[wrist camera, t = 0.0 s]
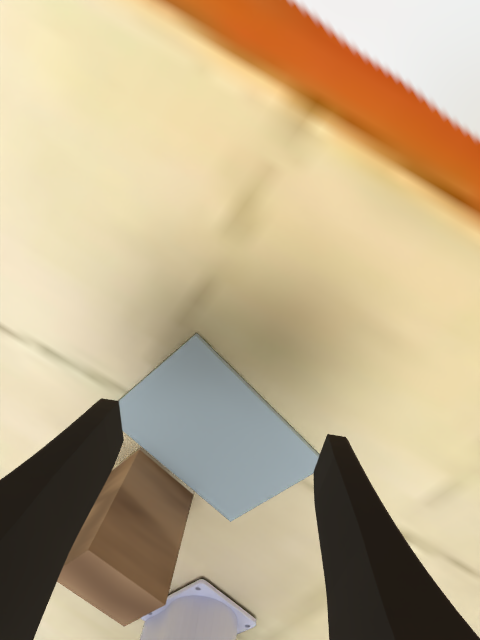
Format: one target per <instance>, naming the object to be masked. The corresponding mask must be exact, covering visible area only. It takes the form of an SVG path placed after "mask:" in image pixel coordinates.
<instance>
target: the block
mask: <svg viewBox="0 0 480 640" xmlns="http://www.w3.org/2000/svg"><path fill="white" fill-rule="evenodd" d="M193 494H194V491H193V490H192V489H191V488H189V487H188V486H187V485H186V484H185V483H183V482H182V481H181V480H180V479H179V478H177V477H176V476H175V475H174V474H173V473H171V472H170V471H169V470H168V469H167V468H166V467H164V466H163V465H162V464H161V463H160V462H158V461H157V460H156V459H155V458H154V457H152V456H151V455H150V454H149V453H148V452H147V451H145V450H144V449H143V448H142V447H140V448H139V449H137V450H136V451H135V452H134V453H132V454H131V455H130V456H128V457H127V458H126V459H124V460H123V461H122V462H121V463H119V464H118V465H117V466H115V467H114V468H113V469H112V471H111V473H110V475H109V477H108V479H107V481H106V483H105V485H104V486H103V488H102V490H101V492H100V494H99V496H98V498H97V500H96V502H95V504H94V505H93V507H92V509H91V511H90V513H89V515H88V517H87V519H86V521H85V522H84V524H83V526H82V528H81V530H80V532H79V534H78V536H77V538H76V540H75V542H74V544H73V546H72V548H71V550H70V552H69V554H68V556H67V559H66V561H65V564H64V566H63V568H62V571H61V573H60V575H59V578H58V580H57V582H59V583H60V584H62V585H63V586H65V587H66V588H68V589H69V590H71V591H72V592H73V593H75V594H76V595H78V596H79V597H81V598H82V599H84V600H85V601H87V602H88V603H90V604H91V605H93V606H94V607H96V608H97V609H99V610H100V611H102V612H103V613H105V614H106V615H108V616H109V617H111V618H112V619H114V620H115V621H117V622H118V623H120V624H121V625H123V626H126V625H128V624H130V623H132V622H134V621H136V620H137V619H139V618H141V617H143V616H145V615H147V614H149V613H151V612H153V611H155V610H157V609H159V608H161V607H163V606H164V605H166V601H167V597H168V593H169V589H170V585H171V581H172V577H173V573H174V569H175V565H176V561H177V557H178V553H179V549H180V545H181V541H182V538H183V534H184V530H185V526H186V522H187V518H188V514H189V510H190V506H191V502H192V498H193Z"/></svg>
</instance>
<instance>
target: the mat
mask: <svg viewBox="0 0 480 640" xmlns="http://www.w3.org/2000/svg"><path fill="white" fill-rule="evenodd" d="M119 406H120V415H121V423H122V431H124V432H125V433H126V434H127V435H128V436H129V437H131V438H132V439H133V440H134V441H135V442H137V443H138V444H139V445H140V446H141V447H143V448H144V449H145V450H146V451H147V452H148V453H150V454H151V455H152V456H153V457H154V458H156V459H157V460H158V461H159V462H160V463H162V464H163V465H164V466H165V467H166V468H167V469H169V470H170V471H171V472H172V473H173V474H175V475H176V476H177V477H178V478H179V479H181V480H182V481H183V482H184V483H185V484H186V485H188V486H189V487H190V488H191V489H192V490H194V491H195V492H196V493H197V494H198V495H200V496H201V497H202V498H203V499H204V500H205V501H207V502H208V503H209V504H210V505H211V506H213V507H214V508H215V509H216V510H217V511H219V512H220V513H221V514H222V515H223V516H224V517H226V518H227V519H228V520H229V521H230V522H231V521H233V520H234V519H236V518H238V517H239V516H241V515H243V514H244V513H246V512H248V511H250V510H251V509H253V508H255V507H256V506H258V505H260V504H262V503H263V502H265V501H267V500H268V499H270V498H272V497H274V496H275V495H277V494H279V493H280V492H282V491H284V490H286V489H287V488H289V487H291V486H292V485H294V484H296V483H298V482H299V481H301V480H303V479H304V478H306V477H308V476H310V475H311V474H313V473H314V469H315V466H316V464H317V461H318V458H319V456H320V455H319V454H318V453H317V452H316V451H315V450H314V449H313V448H312V447H311V446H310V445H309V444H308V443H307V442H306V441H305V440H304V439H303V438H302V437H301V436H300V435H299V434H298V433H297V432H296V431H295V430H294V429H293V428H292V427H291V426H290V425H289V424H288V423H287V422H286V421H285V420H284V419H283V418H282V417H281V416H280V415H279V414H278V413H277V412H276V411H275V410H274V409H273V408H272V407H271V406H270V405H269V404H268V403H267V402H266V401H265V400H264V399H263V398H262V397H261V396H260V395H259V394H258V393H257V392H256V391H255V390H254V389H253V388H252V387H251V386H250V385H249V384H248V383H247V382H246V381H245V380H244V379H243V378H242V377H241V376H240V375H239V374H238V373H237V372H236V371H235V370H234V369H233V368H232V367H231V366H230V365H229V364H228V363H227V362H225V361H224V360H223V359H222V358H221V357H220V356H219V355H218V354H217V353H216V352H215V351H214V350H213V349H212V348H211V347H210V346H209V345H208V344H207V343H206V342H205V341H204V340H203V339H202V338H201V337H200V336H199V335H198V334H197V333H196V334H195V335H194V336H192V337H191V338H190V339H189V340H188V341H187V342H186V343H184V344H183V345H182V346H181V347H180V348H179V349H177V350H176V351H175V352H174V353H173V354H172V355H171V356H169V357H168V358H167V359H166V360H165V361H164V362H162V363H161V364H160V365H159V366H158V367H157V368H156V369H154V370H153V371H152V372H151V373H150V374H149V375H147V376H146V377H145V378H144V379H143V380H142V381H141V382H139V383H138V384H137V385H136V386H135V387H134V388H132V389H131V390H130V391H129V392H128V393H127V394H126V395H124V396H123V397H122V398H121V399H120V400H119Z"/></svg>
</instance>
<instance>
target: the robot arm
mask: <svg viewBox="0 0 480 640" xmlns="http://www.w3.org/2000/svg"><path fill="white" fill-rule="evenodd" d="M123 441H124V439H123V431H122V423H121V415H120V406H119V401H114V400H108V399H100V400H99V401H98V402H97V403H95V404H94V405H93V406H92V407H91V408H90V409H88V410H87V411H86V412H85V413H84V414H83V415H82V416H80V417H79V418H78V419H77V420H76V421H75V422H73V423H72V424H71V425H70V426H69V427H68V428H66V429H65V430H64V431H63V432H62V433H60V434H59V435H58V436H57V437H56V438H54V439H53V440H52V441H51V442H49V443H48V444H47V445H46V446H45V447H43V448H42V449H41V450H40V451H38V452H37V453H36V454H34V455H33V456H32V457H30V458H29V459H28V460H26V461H25V462H24V463H23V464H21V465H20V466H19V467H17V468H16V469H15V470H13V471H12V472H11V473H9V474H8V475H6V476H5V477H4V478H2V479H1V480H0V640H33V639H34V636H35V634H36V631H37V629H38V626H39V624H40V621H41V619H42V616H43V614H44V611H45V609H46V606H47V604H48V602H49V599H50V597H51V594H52V592H53V589H54V587H55V585H56V582H57V580H58V578H59V575H60V573H61V571H62V568H63V566H64V564H65V561H66V559H67V556H68V554H69V552H70V550H71V548H72V546H73V544H74V542H75V540H76V538H77V536H78V534H79V532H80V530H81V528H82V526H83V524H84V522H85V521H86V519H87V517H88V515H89V513H90V511H91V509H92V507H93V505H94V504H95V502H96V500H97V498H98V496H99V494H100V492H101V490H102V488H103V486H104V485H105V483H106V481H107V479H108V477H109V475H110V473H111V471H112V469H113V466H114V464H115V461H116V459H117V457H118V454H119V451H120V449H121V446H122V443H123ZM314 501H315V510H316V518H317V525H318V533H319V540H320V547H321V554H322V561H323V569H324V576H325V584H326V593H327V606H328V624H329V640H480V638H479V637H478V636H477V635H476V633H475V632H474V631H473V630H472V629H471V627H470V626H469V625H468V624H467V622H466V621H465V620H464V619H463V618H462V616H461V615H460V614H459V613H458V611H457V610H456V609H455V608H454V606H453V605H452V604H451V603H450V601H449V600H448V599H447V597H446V596H445V595H444V593H443V592H442V591H441V589H440V588H439V587H438V585H437V584H436V583H435V581H434V580H433V579H432V577H431V576H430V575H429V573H428V572H427V570H426V569H425V568H424V566H423V565H422V563H421V562H420V561H419V559H418V558H417V556H416V555H415V553H414V552H413V551H412V549H411V548H410V546H409V545H408V543H407V542H406V540H405V539H404V537H403V535H402V534H401V532H400V531H399V529H398V528H397V526H396V525H395V523H394V522H393V520H392V518H391V517H390V515H389V513H388V512H387V510H386V509H385V507H384V505H383V503H382V502H381V500H380V498H379V497H378V495H377V493H376V492H375V490H374V488H373V486H372V485H371V483H370V481H369V479H368V477H367V476H366V474H365V472H364V470H363V468H362V466H361V465H360V463H359V461H358V459H357V457H356V455H355V453H354V451H353V449H352V447H351V445H350V443H349V441H348V440H347V438H346V437H342V436H336V435H329V434H327V437H326V440H325V442H324V445H323V448H322V450H321V453H320V456H319V458H318V461H317V464H316V466H315V469H314ZM141 619H142V620H144V621H145V623H144V626H143V630H142V633H141V637H140V640H236V637H237V634H239V633H241V632H243V631H246V630H248V629H250V628H253V627H255V626H256V619H255V618H254V617H253V616H251V615H250V614H249V613H247V612H246V611H245V610H244V609H242V608H241V607H240V606H238V605H237V604H236V603H234V602H233V601H232V600H231V599H229V598H228V597H227V596H225V595H224V594H223V593H221V592H220V591H219V590H217V589H216V588H215V587H214V586H212V585H211V584H210V583H208V582H207V581H206V580H204V579H199V580H197V581H195V582H194V583H192V584H190V585H188V586H186V587H184V588H182V589H180V590H178V591H177V592H175V593H173V594H171V595H169V596H168V597H167V601H166V605H164V606H163V607H161V608H159V609H157V610H155V611H153V612H151V613H149V614H147V615H145V616H143V617H141Z"/></svg>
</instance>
